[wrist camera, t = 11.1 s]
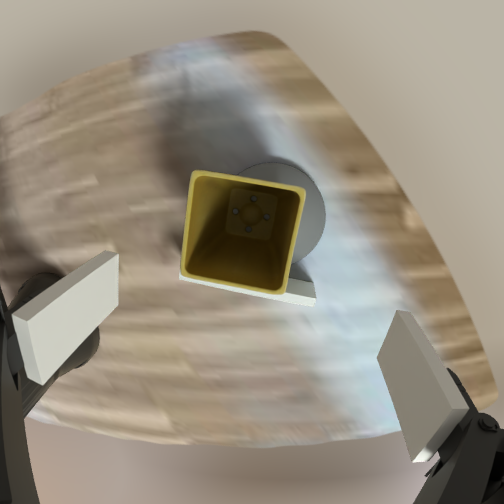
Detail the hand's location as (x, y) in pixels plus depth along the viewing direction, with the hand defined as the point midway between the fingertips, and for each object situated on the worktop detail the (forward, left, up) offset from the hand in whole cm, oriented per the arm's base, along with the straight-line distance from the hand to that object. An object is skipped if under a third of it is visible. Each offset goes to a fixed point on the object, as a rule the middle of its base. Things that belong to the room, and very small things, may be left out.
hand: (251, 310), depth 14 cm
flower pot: (-2, 0, -20) cm, 20 cm away
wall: (-1, -7, -21) cm, 22 cm away
